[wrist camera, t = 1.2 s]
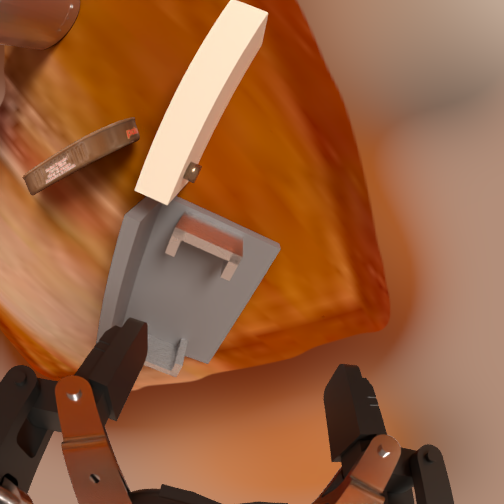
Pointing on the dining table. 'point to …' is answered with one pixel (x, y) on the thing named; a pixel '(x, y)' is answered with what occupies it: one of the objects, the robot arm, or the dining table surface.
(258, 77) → the dining table surface
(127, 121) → the tin
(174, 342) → the hinge bracket
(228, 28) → the door
